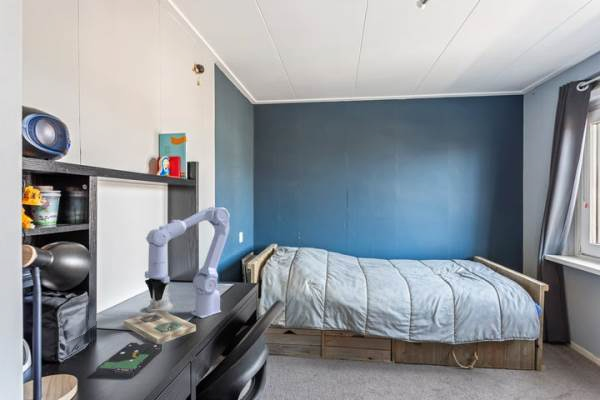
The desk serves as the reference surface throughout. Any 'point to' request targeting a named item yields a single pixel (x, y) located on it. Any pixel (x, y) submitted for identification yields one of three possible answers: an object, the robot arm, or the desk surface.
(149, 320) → the dock board
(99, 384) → the desk surface
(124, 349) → the disk drive
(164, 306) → the mechanical component
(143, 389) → the desk surface
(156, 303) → the steel pin
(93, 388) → the desk surface
